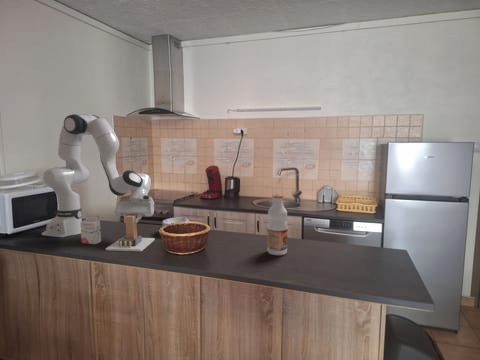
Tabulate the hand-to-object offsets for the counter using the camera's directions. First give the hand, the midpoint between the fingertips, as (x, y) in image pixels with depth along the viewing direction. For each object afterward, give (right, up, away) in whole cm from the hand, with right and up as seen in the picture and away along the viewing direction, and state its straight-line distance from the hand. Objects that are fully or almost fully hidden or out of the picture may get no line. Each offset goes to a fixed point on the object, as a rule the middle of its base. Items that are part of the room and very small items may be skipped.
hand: (130, 222), depth 160 cm
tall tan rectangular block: (0, -9, +2) cm, 9 cm away
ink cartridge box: (-23, -12, +6) cm, 26 cm away
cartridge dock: (0, -12, +1) cm, 12 cm away
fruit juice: (+74, -13, -10) cm, 76 cm away
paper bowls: (+19, -10, +22) cm, 30 cm away
